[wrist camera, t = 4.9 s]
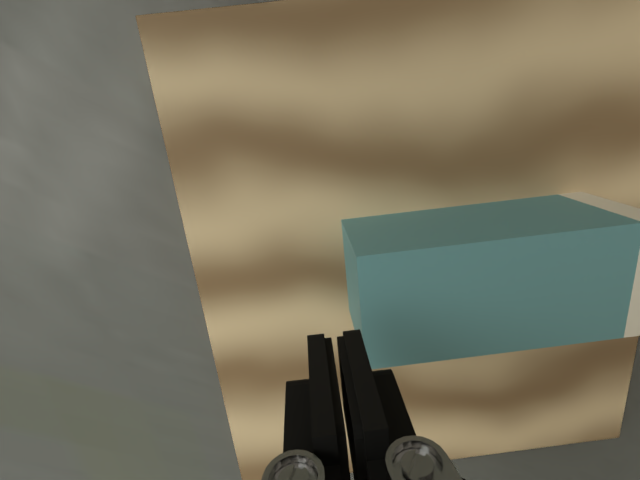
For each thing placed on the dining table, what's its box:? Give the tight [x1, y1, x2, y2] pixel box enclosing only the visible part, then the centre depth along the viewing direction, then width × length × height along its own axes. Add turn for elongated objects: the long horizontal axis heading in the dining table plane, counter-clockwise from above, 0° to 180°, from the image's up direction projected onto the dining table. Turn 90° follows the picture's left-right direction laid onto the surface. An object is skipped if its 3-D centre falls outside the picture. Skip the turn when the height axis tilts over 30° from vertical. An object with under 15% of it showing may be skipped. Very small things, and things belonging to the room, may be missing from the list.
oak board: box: [136, 0, 640, 480], centre depth 21 cm, size 26×24×1 cm
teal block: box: [341, 192, 640, 369], centre depth 17 cm, size 5×5×12 cm
